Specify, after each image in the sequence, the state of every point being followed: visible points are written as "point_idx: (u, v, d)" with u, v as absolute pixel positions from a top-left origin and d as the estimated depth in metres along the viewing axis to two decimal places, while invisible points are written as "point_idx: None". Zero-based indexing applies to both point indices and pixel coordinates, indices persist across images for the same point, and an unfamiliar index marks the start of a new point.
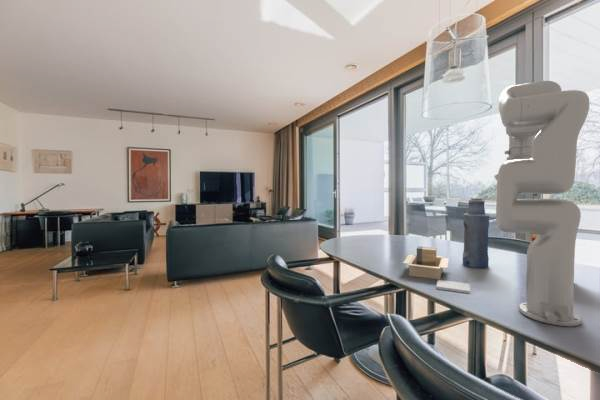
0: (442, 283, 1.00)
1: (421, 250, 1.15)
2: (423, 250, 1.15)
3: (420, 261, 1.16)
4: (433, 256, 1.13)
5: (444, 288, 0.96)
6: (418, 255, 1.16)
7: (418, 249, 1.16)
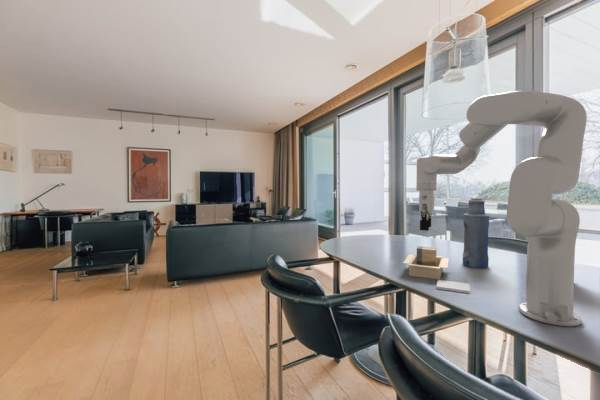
0: (442, 283, 1.00)
1: (421, 250, 1.15)
2: (423, 250, 1.15)
3: (420, 261, 1.16)
4: (433, 256, 1.13)
5: (444, 288, 0.96)
6: (418, 255, 1.16)
7: (418, 249, 1.16)
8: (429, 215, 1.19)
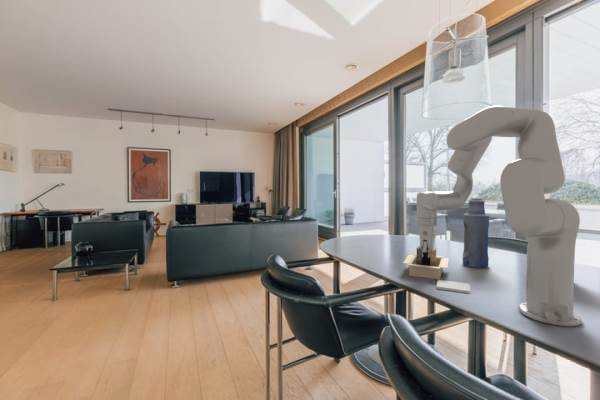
0: (442, 283, 1.00)
1: (421, 250, 1.15)
2: None
3: (420, 261, 1.16)
4: (433, 256, 1.13)
5: (444, 288, 0.96)
6: (418, 255, 1.16)
7: (418, 249, 1.16)
8: None
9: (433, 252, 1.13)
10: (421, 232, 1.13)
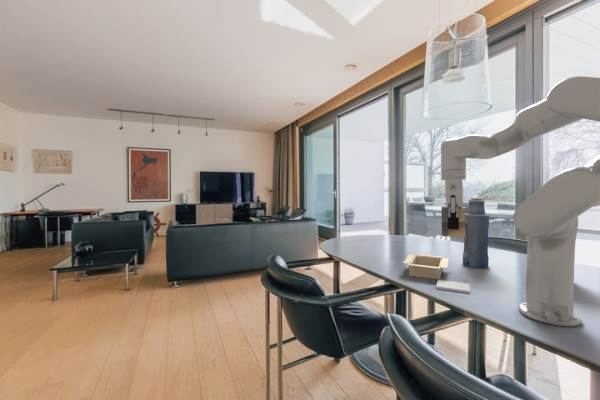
0: (442, 283, 1.00)
1: (447, 209, 0.96)
2: None
3: (446, 222, 0.97)
4: (462, 215, 0.94)
5: (444, 288, 0.96)
6: (444, 216, 0.97)
7: (443, 208, 0.97)
8: None
9: (462, 210, 0.94)
10: (448, 186, 0.94)
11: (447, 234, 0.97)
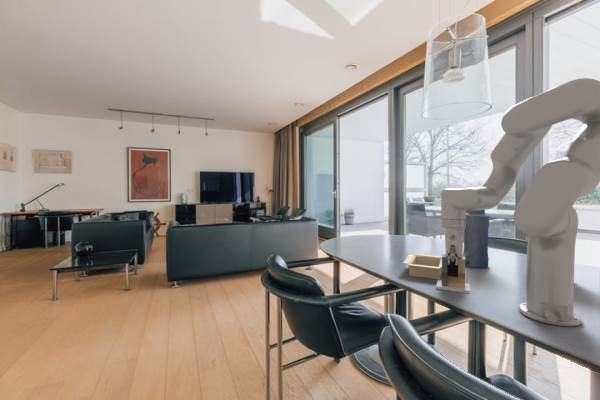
0: None
1: (447, 259, 0.97)
2: None
3: None
4: (462, 267, 0.95)
5: (444, 288, 0.96)
6: (444, 266, 0.98)
7: (444, 258, 0.98)
8: None
9: (462, 262, 0.95)
10: (448, 236, 0.95)
11: (447, 284, 0.97)
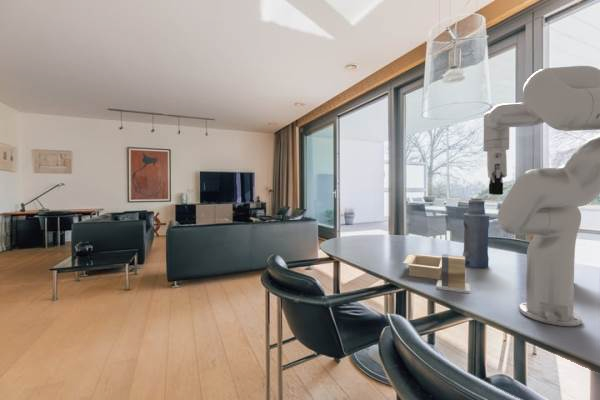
0: None
1: (447, 259, 0.97)
2: (450, 259, 0.97)
3: (447, 272, 0.97)
4: (462, 267, 0.95)
5: (444, 288, 0.96)
6: (444, 266, 0.98)
7: (444, 258, 0.98)
8: None
9: (462, 262, 0.95)
10: (492, 156, 0.97)
11: (447, 284, 0.97)
